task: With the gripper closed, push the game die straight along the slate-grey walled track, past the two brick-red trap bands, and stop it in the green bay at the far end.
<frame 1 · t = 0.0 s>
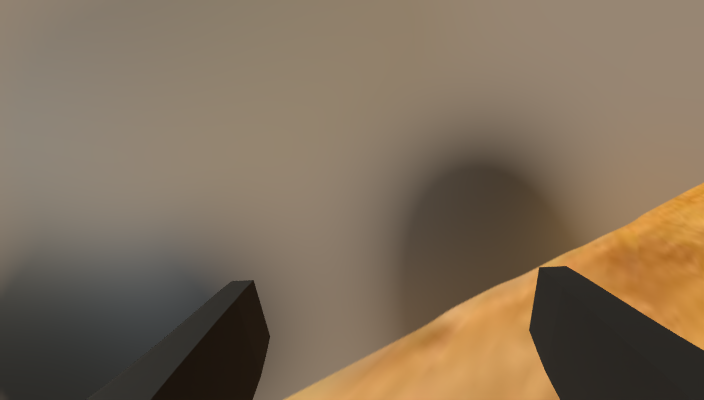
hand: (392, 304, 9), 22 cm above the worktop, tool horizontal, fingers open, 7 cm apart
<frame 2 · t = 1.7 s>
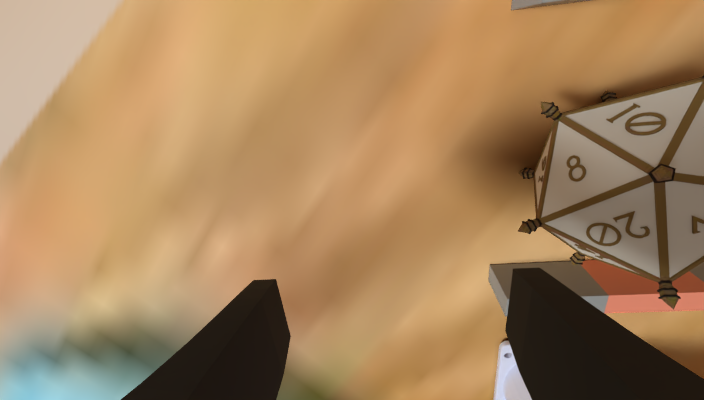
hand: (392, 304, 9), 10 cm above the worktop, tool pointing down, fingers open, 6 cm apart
game die: (577, 150, 17), on the worktop
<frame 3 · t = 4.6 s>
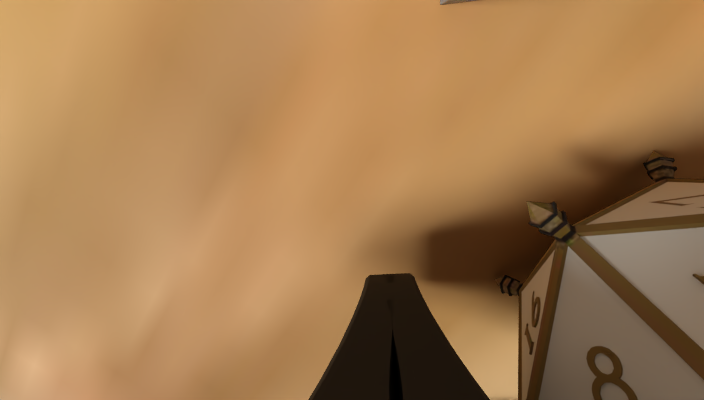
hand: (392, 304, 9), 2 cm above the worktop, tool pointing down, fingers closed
game die: (595, 246, 10), on the worktop, touching gripper
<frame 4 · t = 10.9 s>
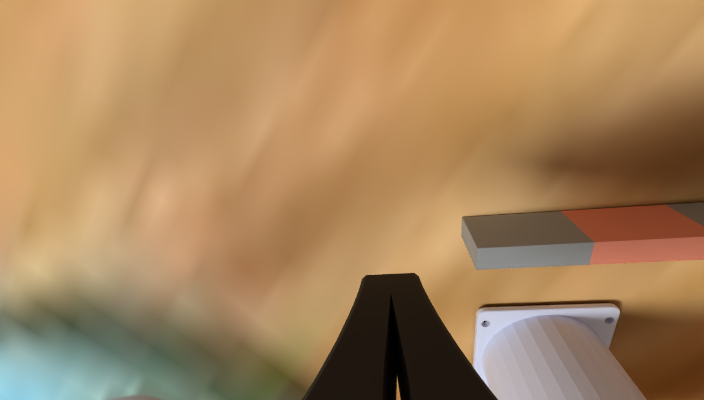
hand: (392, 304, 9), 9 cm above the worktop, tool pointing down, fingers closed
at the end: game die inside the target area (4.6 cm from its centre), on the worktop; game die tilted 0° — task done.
